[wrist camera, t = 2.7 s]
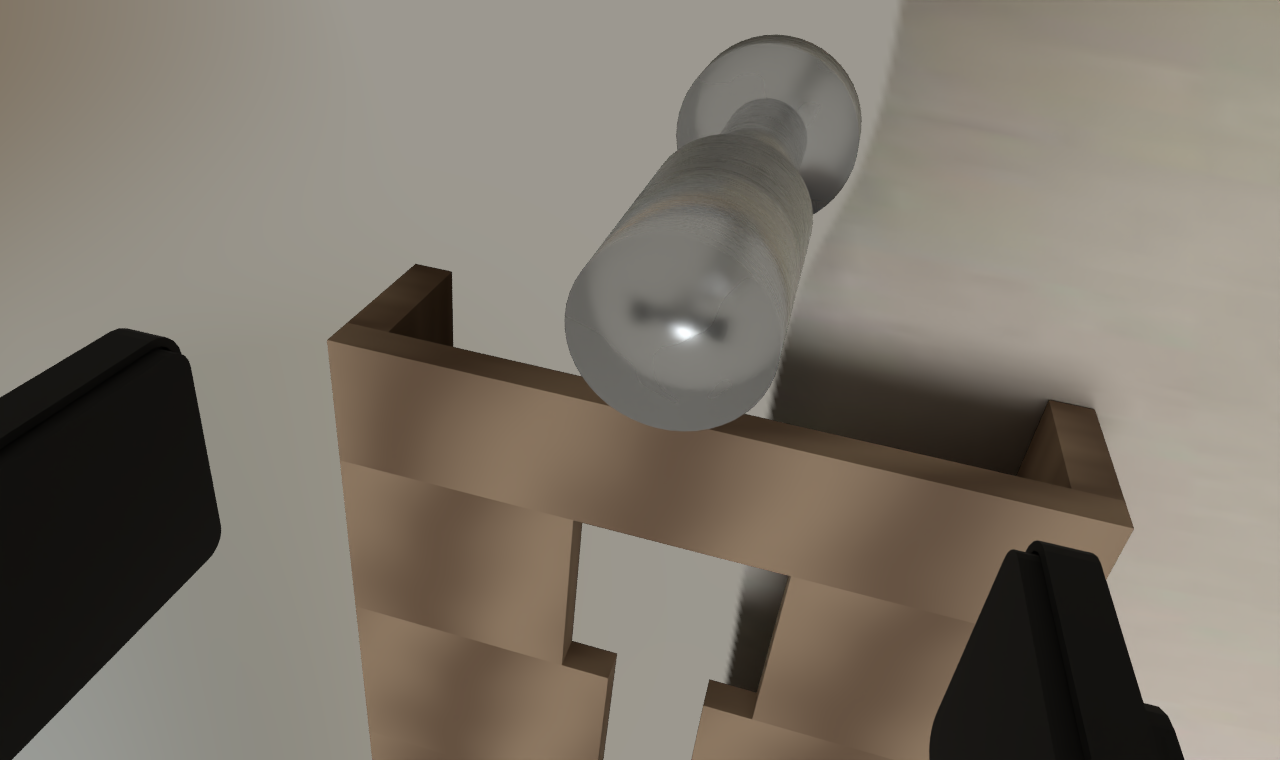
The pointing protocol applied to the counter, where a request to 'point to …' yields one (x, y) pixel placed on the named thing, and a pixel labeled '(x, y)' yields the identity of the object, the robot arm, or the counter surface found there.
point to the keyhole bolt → (717, 240)
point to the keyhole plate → (670, 514)
